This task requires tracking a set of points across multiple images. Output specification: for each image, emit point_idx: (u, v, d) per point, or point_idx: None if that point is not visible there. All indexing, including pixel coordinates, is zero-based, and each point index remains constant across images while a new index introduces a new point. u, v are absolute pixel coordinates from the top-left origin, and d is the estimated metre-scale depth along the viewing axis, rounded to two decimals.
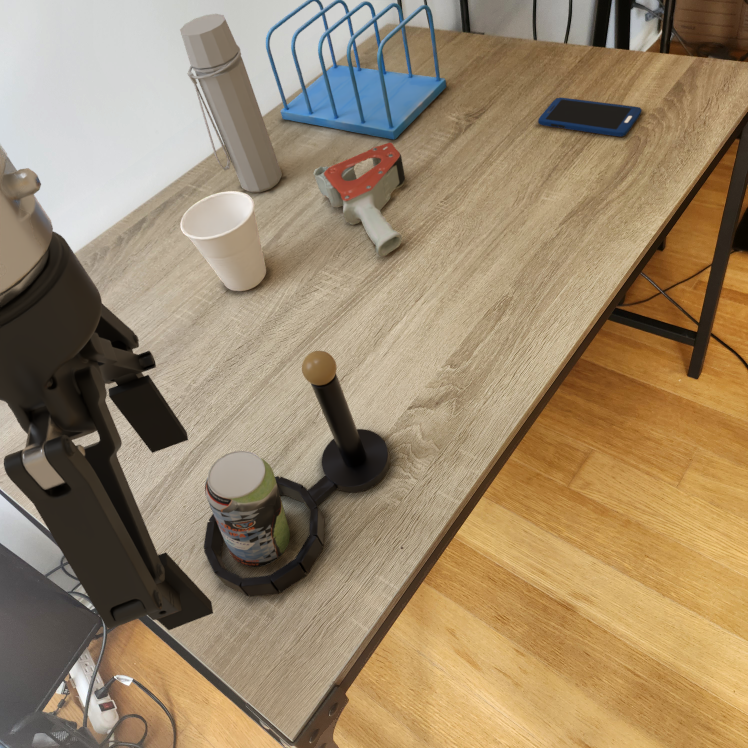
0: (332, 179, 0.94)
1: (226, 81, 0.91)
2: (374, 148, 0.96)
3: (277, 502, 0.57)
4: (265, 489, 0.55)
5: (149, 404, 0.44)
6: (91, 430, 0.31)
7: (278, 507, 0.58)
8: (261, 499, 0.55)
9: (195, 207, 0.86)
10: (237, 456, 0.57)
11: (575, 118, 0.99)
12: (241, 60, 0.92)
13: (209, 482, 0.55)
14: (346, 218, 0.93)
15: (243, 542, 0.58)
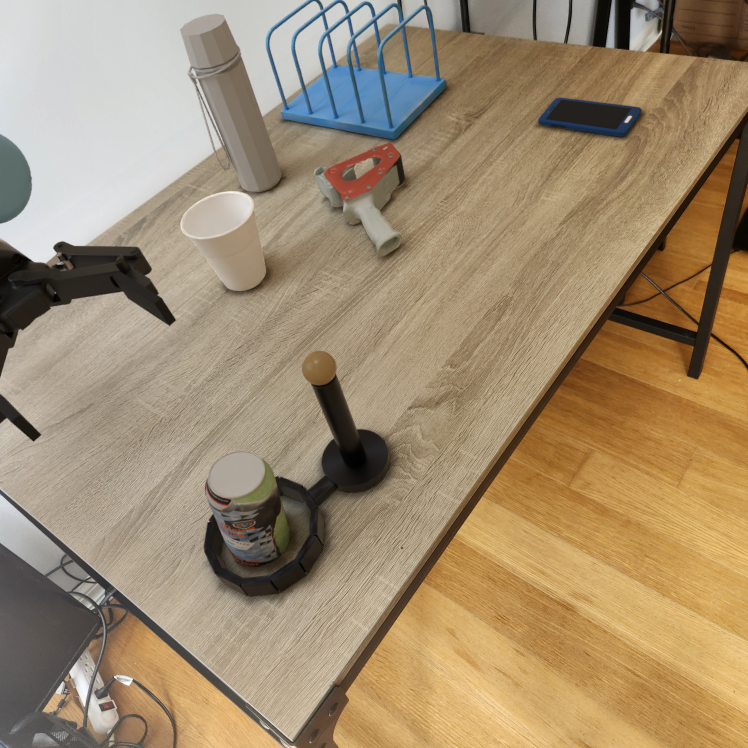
0: (332, 179, 0.94)
1: (226, 81, 0.91)
2: (374, 148, 0.96)
3: (277, 502, 0.57)
4: (265, 489, 0.55)
5: None
6: (53, 295, 0.59)
7: (278, 507, 0.58)
8: (261, 499, 0.55)
9: (194, 207, 0.86)
10: (237, 456, 0.57)
11: (575, 118, 0.99)
12: (241, 60, 0.92)
13: (209, 482, 0.55)
14: (346, 218, 0.93)
15: (243, 542, 0.58)
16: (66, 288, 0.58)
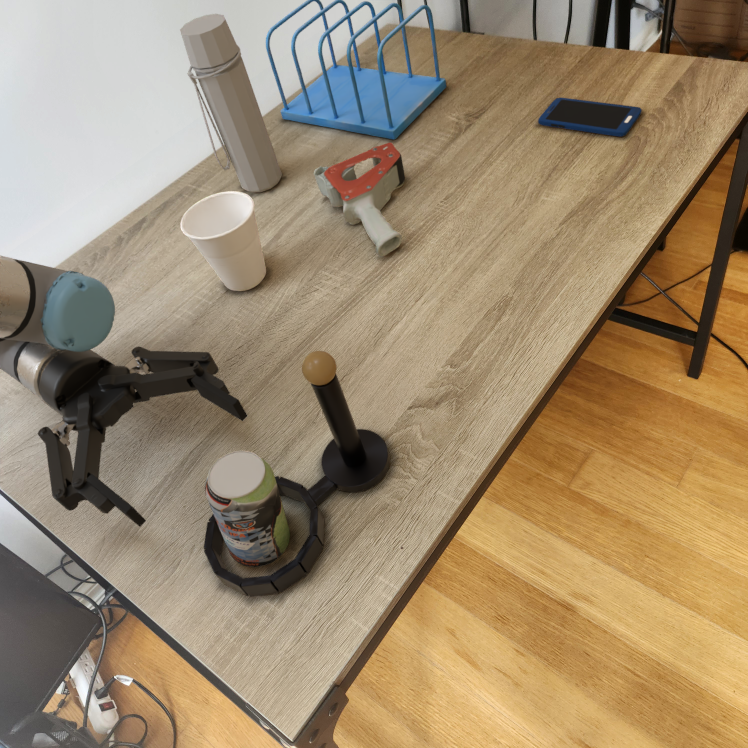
0: (332, 179, 0.94)
1: (226, 81, 0.91)
2: (374, 148, 0.96)
3: (277, 502, 0.57)
4: (265, 489, 0.55)
5: None
6: (135, 394, 0.69)
7: (278, 507, 0.58)
8: (261, 499, 0.55)
9: (194, 207, 0.86)
10: (237, 456, 0.57)
11: (575, 118, 0.99)
12: (241, 60, 0.92)
13: (209, 482, 0.55)
14: (346, 218, 0.93)
15: (243, 542, 0.58)
16: (148, 389, 0.68)
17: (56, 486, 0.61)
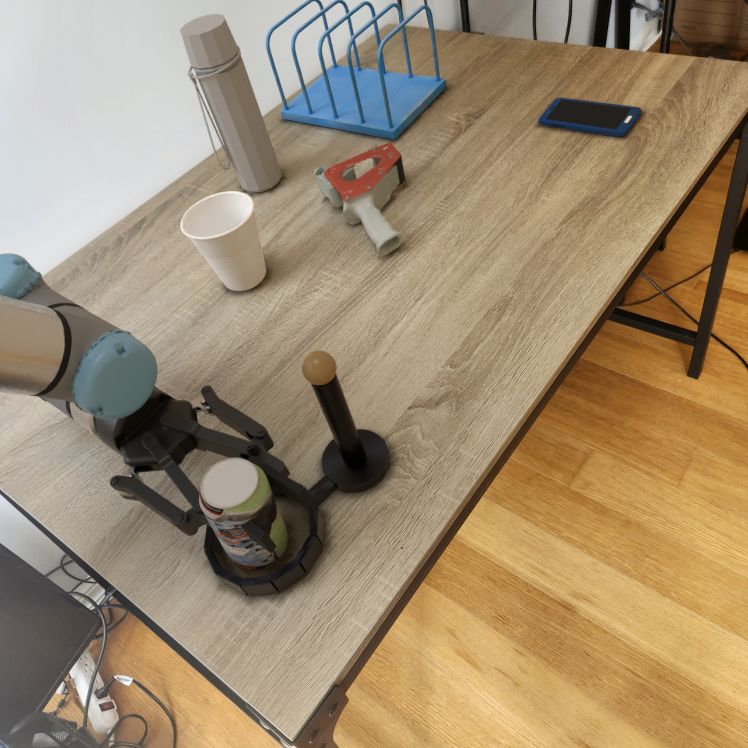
0: (332, 179, 0.94)
1: (226, 81, 0.91)
2: (374, 148, 0.96)
3: (272, 509, 0.57)
4: (258, 498, 0.54)
5: None
6: None
7: (273, 514, 0.57)
8: (254, 509, 0.54)
9: (194, 207, 0.86)
10: (231, 463, 0.56)
11: (575, 118, 0.99)
12: (241, 60, 0.92)
13: (202, 491, 0.54)
14: (346, 218, 0.93)
15: (239, 549, 0.57)
16: (203, 443, 0.62)
17: (173, 514, 0.56)
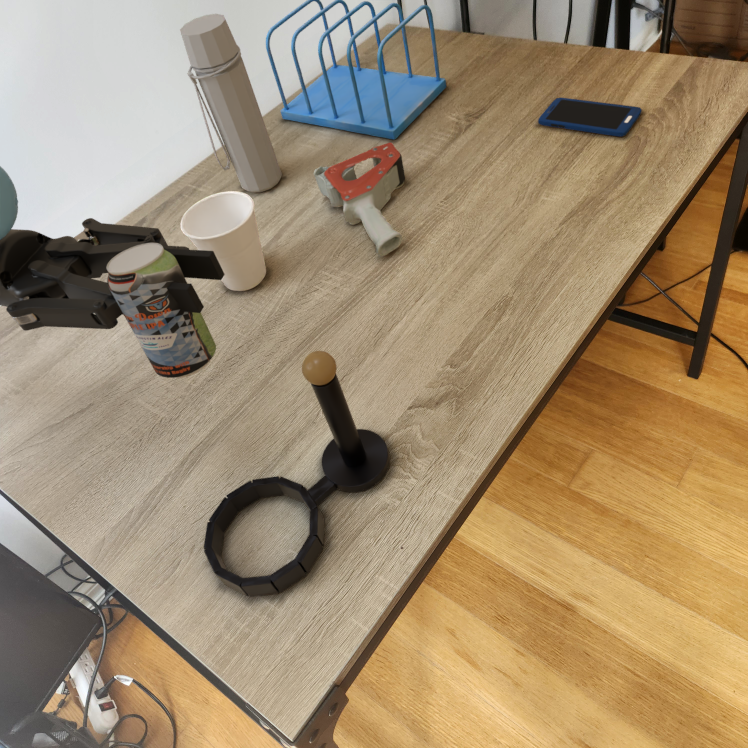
0: (332, 179, 0.94)
1: (226, 81, 0.91)
2: (374, 148, 0.96)
3: None
4: (168, 261, 0.54)
5: None
6: None
7: None
8: (167, 270, 0.54)
9: (194, 207, 0.86)
10: (132, 250, 0.56)
11: (575, 118, 0.99)
12: (241, 60, 0.92)
13: (109, 270, 0.53)
14: (346, 218, 0.93)
15: (165, 335, 0.56)
16: (97, 262, 0.61)
17: (88, 305, 0.55)
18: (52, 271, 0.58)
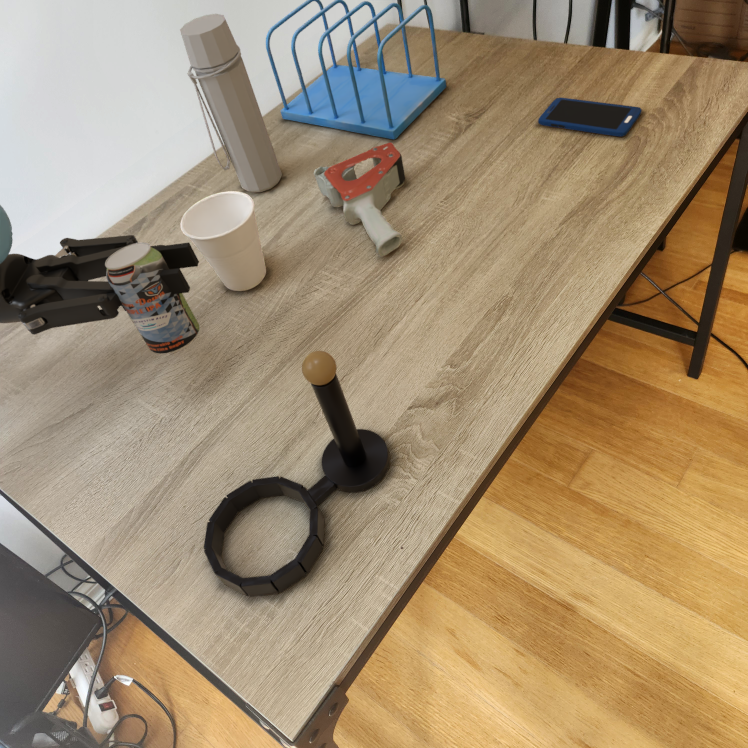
0: (332, 179, 0.94)
1: (226, 81, 0.91)
2: (374, 148, 0.96)
3: None
4: (156, 254, 0.67)
5: None
6: None
7: None
8: (157, 260, 0.66)
9: (194, 207, 0.86)
10: (122, 251, 0.68)
11: (575, 118, 0.99)
12: (241, 60, 0.92)
13: (109, 267, 0.65)
14: (346, 218, 0.93)
15: (162, 315, 0.68)
16: (84, 270, 0.72)
17: (93, 299, 0.66)
18: (50, 281, 0.69)
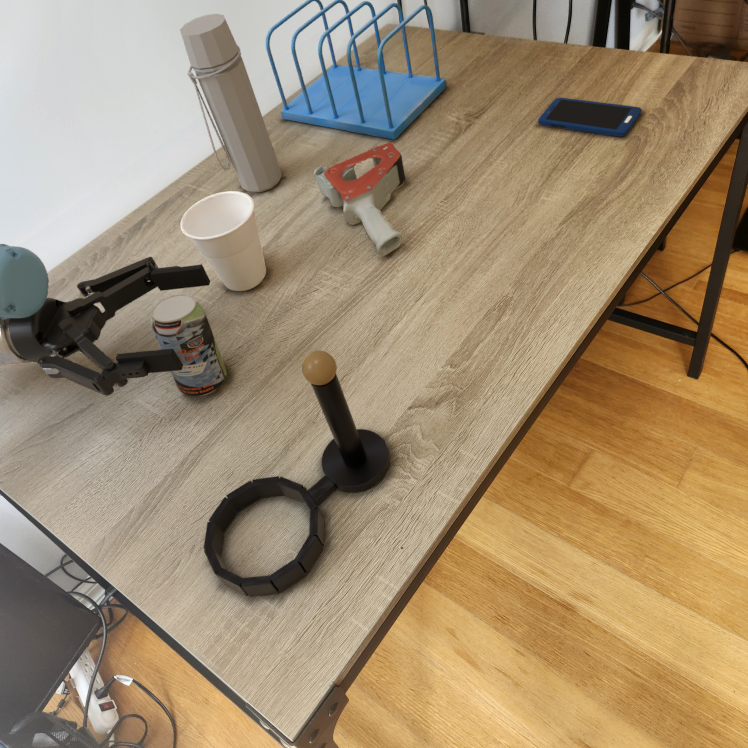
0: (332, 179, 0.94)
1: (226, 81, 0.91)
2: (374, 148, 0.96)
3: None
4: (200, 309, 0.72)
5: None
6: None
7: (211, 331, 0.75)
8: (201, 315, 0.72)
9: (194, 207, 0.86)
10: (166, 301, 0.73)
11: (575, 118, 0.99)
12: (241, 60, 0.92)
13: (157, 319, 0.70)
14: (346, 218, 0.93)
15: (198, 364, 0.73)
16: (113, 301, 0.78)
17: (91, 376, 0.69)
18: (73, 333, 0.73)
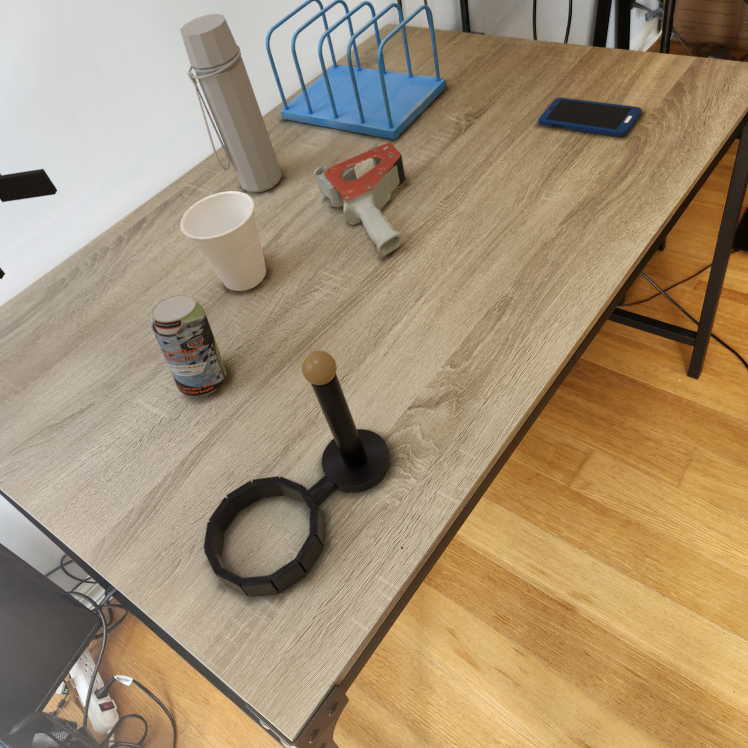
0: (332, 179, 0.94)
1: (226, 81, 0.91)
2: (374, 148, 0.96)
3: None
4: (200, 309, 0.72)
5: None
6: None
7: (211, 331, 0.75)
8: (201, 315, 0.72)
9: (194, 207, 0.86)
10: (166, 301, 0.73)
11: (575, 118, 0.99)
12: (241, 60, 0.92)
13: (157, 319, 0.70)
14: (346, 218, 0.93)
15: (198, 364, 0.73)
16: None
17: None
18: None
